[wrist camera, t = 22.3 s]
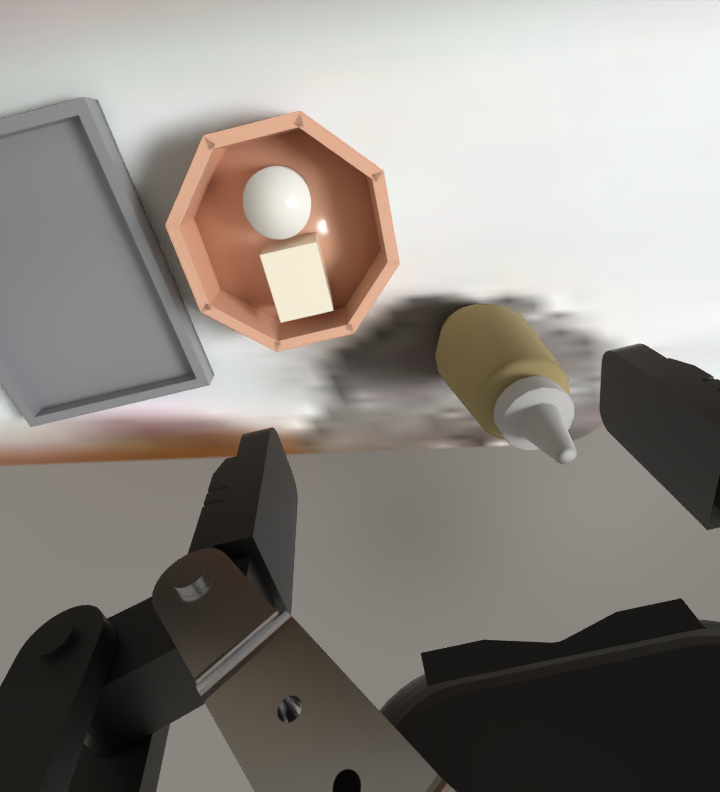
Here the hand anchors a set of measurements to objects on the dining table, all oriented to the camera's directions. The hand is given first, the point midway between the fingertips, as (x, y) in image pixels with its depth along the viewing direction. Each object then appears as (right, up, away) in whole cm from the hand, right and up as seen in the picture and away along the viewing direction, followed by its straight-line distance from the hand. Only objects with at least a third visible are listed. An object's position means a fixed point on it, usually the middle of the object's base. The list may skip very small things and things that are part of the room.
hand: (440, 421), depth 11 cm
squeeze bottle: (+8, +6, +30) cm, 31 cm away
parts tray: (-25, +10, +25) cm, 36 cm away
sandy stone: (-7, +10, +25) cm, 28 cm away
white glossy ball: (-8, +15, +22) cm, 28 cm away
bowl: (-7, +13, +24) cm, 29 cm away
